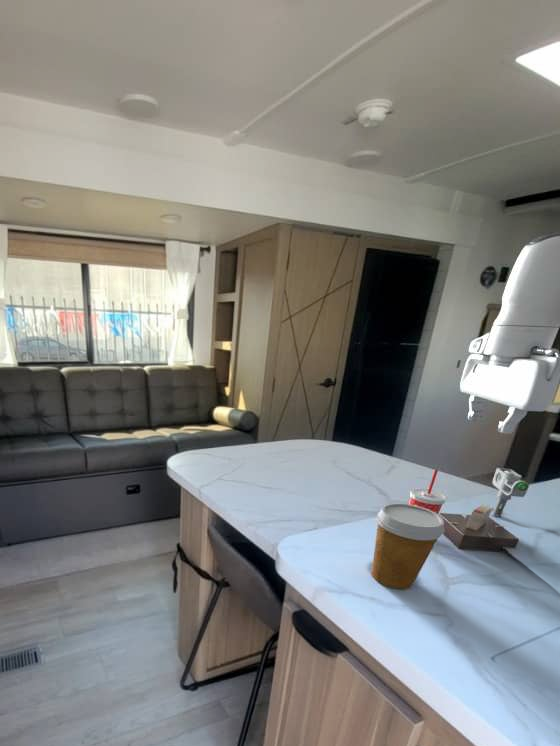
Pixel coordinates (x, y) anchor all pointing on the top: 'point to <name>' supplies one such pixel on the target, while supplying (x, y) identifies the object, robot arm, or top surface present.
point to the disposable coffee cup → (404, 543)
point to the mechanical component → (507, 488)
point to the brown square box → (477, 534)
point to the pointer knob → (479, 517)
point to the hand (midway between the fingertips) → (488, 426)
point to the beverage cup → (428, 497)
